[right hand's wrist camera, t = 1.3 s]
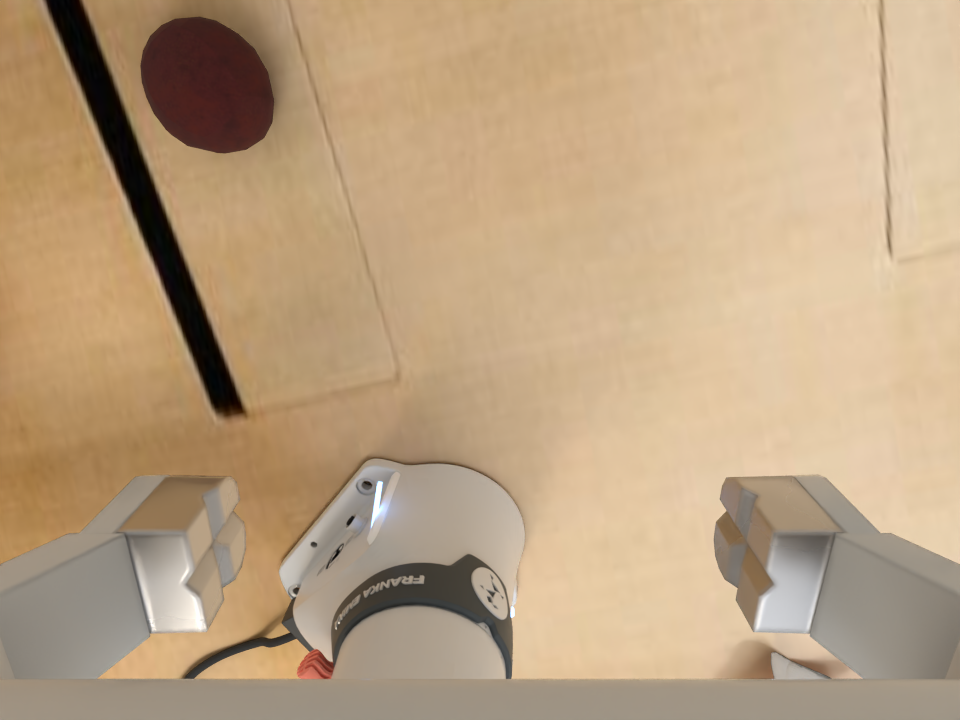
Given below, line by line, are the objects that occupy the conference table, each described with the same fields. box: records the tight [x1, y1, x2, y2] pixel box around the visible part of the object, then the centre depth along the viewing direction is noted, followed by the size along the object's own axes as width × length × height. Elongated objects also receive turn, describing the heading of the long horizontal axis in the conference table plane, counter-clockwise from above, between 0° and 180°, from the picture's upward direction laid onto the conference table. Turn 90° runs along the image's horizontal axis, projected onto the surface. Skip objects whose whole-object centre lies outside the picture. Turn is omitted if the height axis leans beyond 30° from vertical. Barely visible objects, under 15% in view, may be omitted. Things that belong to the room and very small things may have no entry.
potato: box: [141, 17, 274, 153], centre depth 37 cm, size 7×8×7 cm
